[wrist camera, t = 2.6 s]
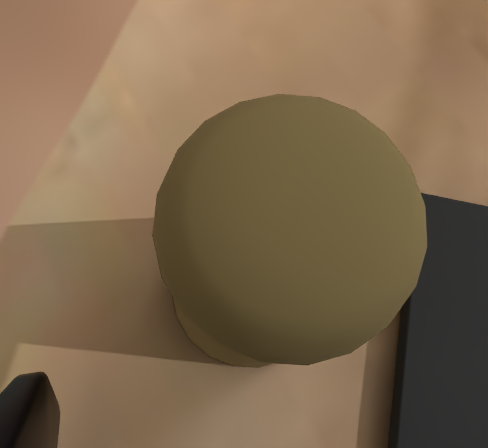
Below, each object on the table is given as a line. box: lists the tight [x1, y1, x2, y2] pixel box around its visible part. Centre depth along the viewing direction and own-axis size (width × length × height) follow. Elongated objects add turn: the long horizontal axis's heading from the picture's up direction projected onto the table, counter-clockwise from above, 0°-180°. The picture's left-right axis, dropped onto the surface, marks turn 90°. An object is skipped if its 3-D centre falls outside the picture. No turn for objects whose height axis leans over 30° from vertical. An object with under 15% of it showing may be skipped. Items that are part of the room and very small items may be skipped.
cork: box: [152, 94, 427, 367], centre depth 13 cm, size 6×6×11 cm
